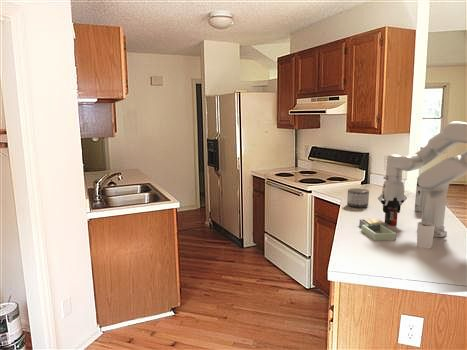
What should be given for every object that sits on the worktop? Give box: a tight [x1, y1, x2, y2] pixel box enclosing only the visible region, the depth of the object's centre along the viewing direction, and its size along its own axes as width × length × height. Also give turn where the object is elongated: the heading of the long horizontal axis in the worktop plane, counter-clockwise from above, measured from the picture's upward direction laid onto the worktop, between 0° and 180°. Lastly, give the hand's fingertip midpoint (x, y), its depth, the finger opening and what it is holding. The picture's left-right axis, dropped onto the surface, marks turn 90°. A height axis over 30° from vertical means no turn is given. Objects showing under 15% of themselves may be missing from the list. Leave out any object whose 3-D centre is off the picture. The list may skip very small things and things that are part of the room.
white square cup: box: [416, 221, 435, 249], centre depth 152 cm, size 7×7×10 cm
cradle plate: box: [362, 218, 385, 225], centre depth 178 cm, size 7×7×2 cm
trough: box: [361, 224, 397, 241], centre depth 167 cm, size 14×10×3 cm
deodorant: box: [384, 198, 399, 227], centre depth 183 cm, size 6×6×15 cm
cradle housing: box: [358, 218, 389, 232], centre depth 178 cm, size 10×10×3 cm
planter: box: [346, 187, 370, 209], centre depth 222 cm, size 13×13×10 cm
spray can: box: [414, 177, 425, 213], centre depth 209 cm, size 7×7×20 cm
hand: (391, 212), depth 184 cm, fingers closed on deodorant, 6 cm apart
